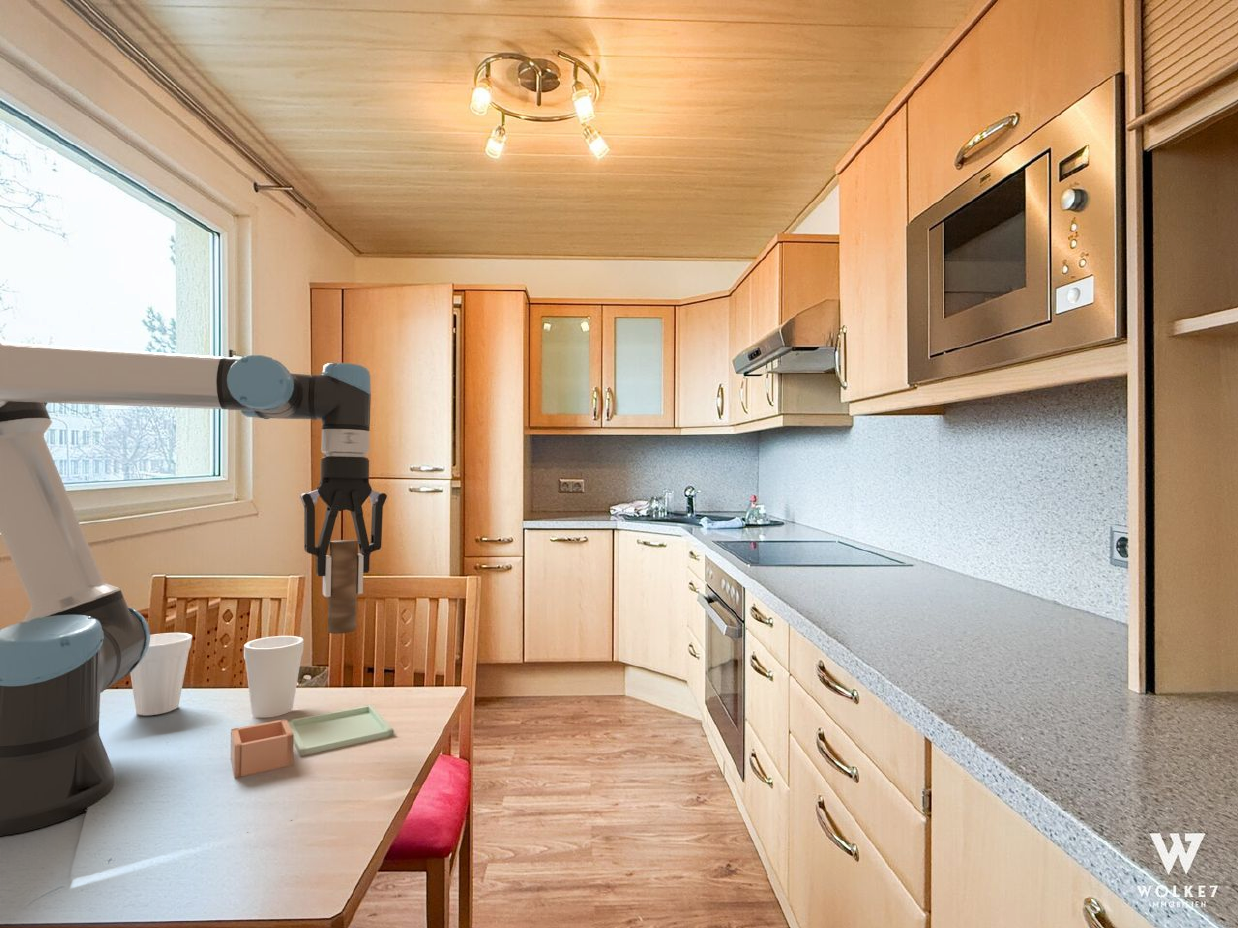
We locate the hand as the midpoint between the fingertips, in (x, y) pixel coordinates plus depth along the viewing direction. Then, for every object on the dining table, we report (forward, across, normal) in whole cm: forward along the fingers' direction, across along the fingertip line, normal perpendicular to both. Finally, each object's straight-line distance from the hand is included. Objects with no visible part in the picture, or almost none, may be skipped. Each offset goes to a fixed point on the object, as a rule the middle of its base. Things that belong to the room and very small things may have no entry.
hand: (342, 593), depth 107 cm
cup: (+24, -25, +29) cm, 45 cm away
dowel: (+6, 0, 0) cm, 6 cm away
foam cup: (+24, -8, +16) cm, 30 cm away
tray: (+23, 0, 0) cm, 23 cm away
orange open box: (+23, -12, -6) cm, 27 cm away
